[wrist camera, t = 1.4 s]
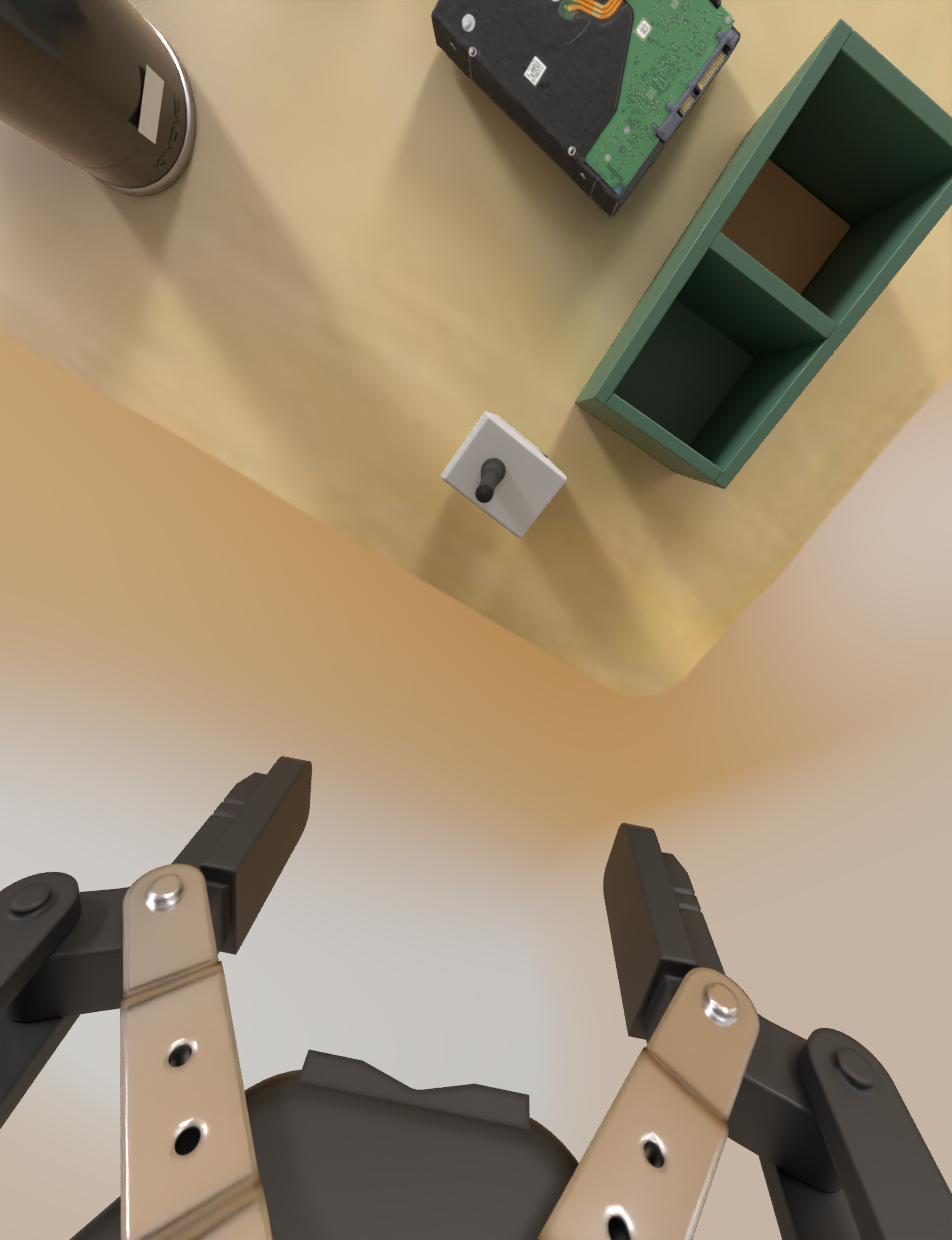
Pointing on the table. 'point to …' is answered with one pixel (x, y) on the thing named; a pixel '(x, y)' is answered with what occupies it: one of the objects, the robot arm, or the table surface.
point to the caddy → (778, 261)
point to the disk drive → (591, 75)
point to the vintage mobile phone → (504, 474)
